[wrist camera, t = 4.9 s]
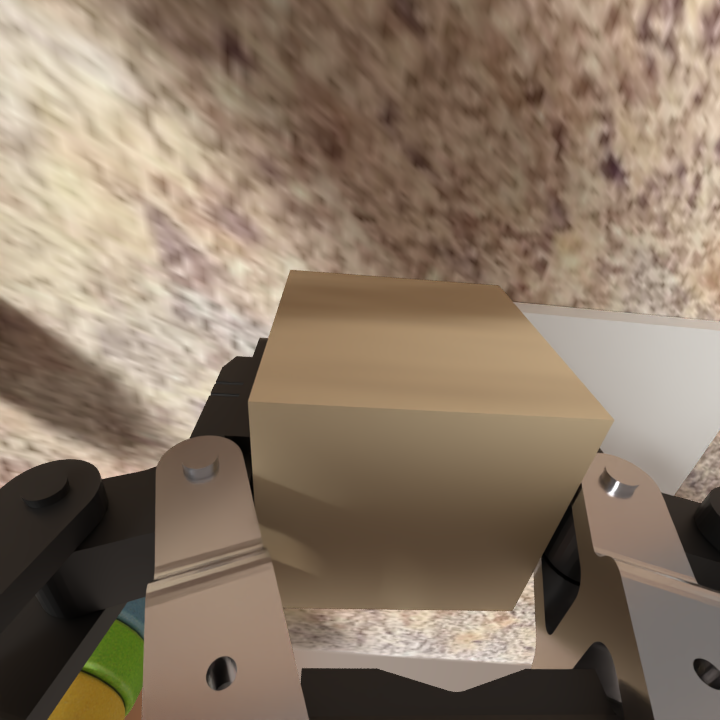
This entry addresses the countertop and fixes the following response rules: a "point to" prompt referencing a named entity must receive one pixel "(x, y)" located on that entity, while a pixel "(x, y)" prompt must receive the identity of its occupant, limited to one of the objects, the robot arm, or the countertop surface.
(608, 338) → the build board
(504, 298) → the oak block
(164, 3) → the countertop surface
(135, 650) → the stacking bear
